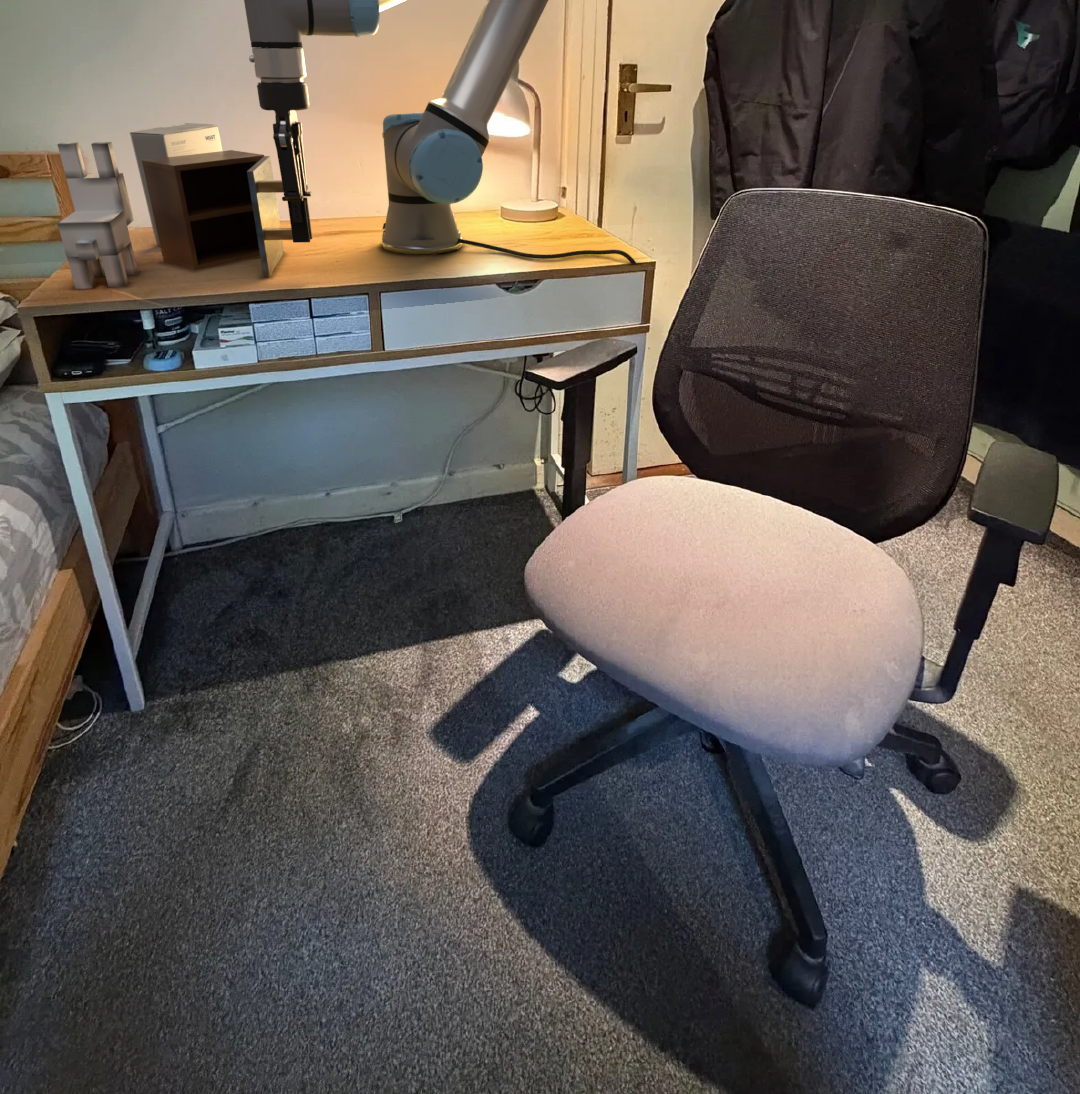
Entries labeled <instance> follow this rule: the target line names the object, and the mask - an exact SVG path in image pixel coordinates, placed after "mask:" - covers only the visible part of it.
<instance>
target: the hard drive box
mask: <svg viewBox="0 0 1080 1094" xmlns="http://www.w3.org/2000/svg"><path fill="white" fill-rule="evenodd" d="M129 136H130V139H131V143H132V148H133V152H134V156H135V161H136V164H137V169H138V173H139V178H140V181H141V186H142V189H143V194H144V198H145V203H146V206H147V211H148V215H149V219H150V223H151V227H152V232H153V236H154V240H155V244H156V246H159V247H160V242H159V238H158V233H157V229H156V224H155V220H154V215H153V210H152V206H151V201H150V197H149V192H148V188H147V183H146V179H145V174H144V169H143V165H142V160H148V159H157V158H166V157H175V156H184V155H193V154H202V153H210V152H219V151H224V150H223V146H222V140H221V134H220V129H219V125H218V124H212V123H210V124H209V123H195V122H185V123H178V124H177V123H176V124H171V125H164V126H159V127H153V128H146V129H142V130H141V129H140V130H136V131H130V132H129Z"/></svg>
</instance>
